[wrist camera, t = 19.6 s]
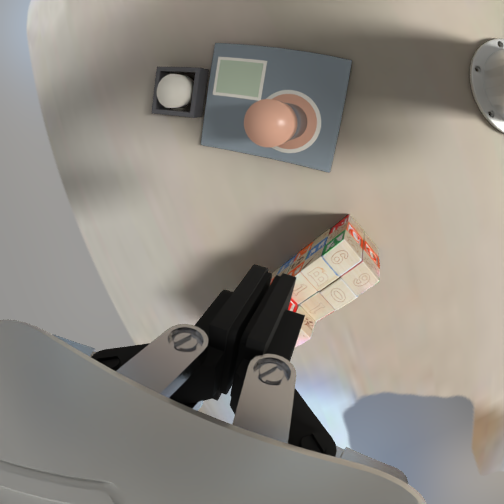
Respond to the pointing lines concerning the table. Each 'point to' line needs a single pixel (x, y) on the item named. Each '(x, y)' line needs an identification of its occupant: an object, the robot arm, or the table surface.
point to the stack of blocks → (331, 273)
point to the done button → (175, 91)
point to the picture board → (277, 88)
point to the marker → (274, 122)
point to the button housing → (197, 94)
